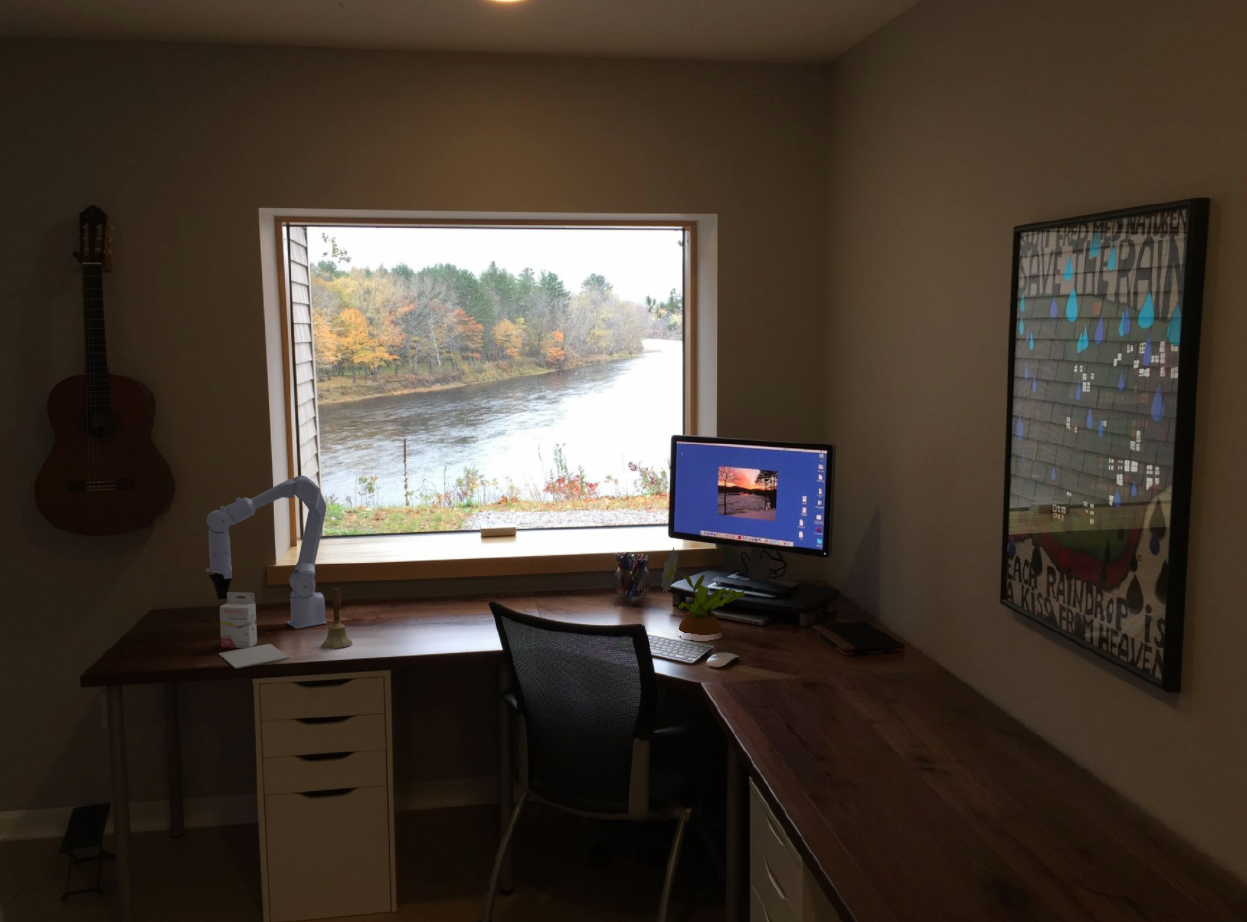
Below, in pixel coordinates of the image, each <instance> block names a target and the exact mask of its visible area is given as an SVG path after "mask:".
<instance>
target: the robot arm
mask: <svg viewBox="0 0 1247 922" xmlns="http://www.w3.org/2000/svg"><path fill="white" fill-rule="evenodd" d="M294 495H295V497H296V498H298V500H300V501H301V502H303V504H304V505H305V506H306V508H307V510H308V511H307V512H308V513H307V516H306V521H305V526H304V531H303V536H302V540H301V544H300V545H301V546H300V551H299V556H298V561H297V562H296V564H295V566H294V571H293V572H292V573H291V574H290V576H289V579H288V582H289V585H290V588H292V591H291V592H290V595H289V598H290V599H289V600H290V618H291V619H290V620H287V621H286V624H288V625H290V626H291V627H293V628H294V629H302V628H306V627H307V628H308V627H312V626H318V625H323V624H324V625H325V624H327V621H326V603H325V597H324V594H323V593H322V592H316V591H315V590H316V586H317V585H316V581H315V575H316V569H315V568H316V560H317V555H318V550H319V547H320V541H321V537H322V531H323V527H324V523H325V519H326V518H325V517H326V512H327V507H328V505H327V504H326V502H325V499H324V497H323V494H322V492H321V488H320V487H319V486H318V485H317V484H316V483H315V482H314V481H313V480H311V479H310V478H309V477H308V476H305V475H298V476H295V477H294V478H293V479H292V478H289V479H287V480H284V481H282V482H280V483H279V484H277V485H275V486H273V487H271V488H270V489H267V490H265V491H264V492H262V493H261V492H260V494H258V495H256V496H254V497H252V498H248V497H243V498H241V497H240V496H239V497H237V498H235V501H234V502H232V503H230V504H227V505H226V506H224V505H222V506H220V507H219V509H216V510H212V511H211V512H209V513H208V515H207V517H206V520H205V521H206V524H207V526H208V553H209V555H208V557H209V567H207V568H205V571H206V573H213V574H210V575H209V578H210V580H211V581H212V584H213V586H214V590H215V593H216V597H217V599H218V600H225V599H227V592H229V588H230V584H231V582H232V580H233V578H234V574H233V572H232V571H233V566H232V555H231V553H232V552H231V538H230V532H229V531H230V530H229V528H230V527H231V526H234V525H236V524H238V523H240V522H242V521H244V520H246V519H248V518H251V517H252V516H254V515H255V513H256V510H257V509H260V508H261V507H263V506H267V505H268V504H270V503H272V502H275V501H277V500H280V499H283V498H285V499H294Z"/></svg>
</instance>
